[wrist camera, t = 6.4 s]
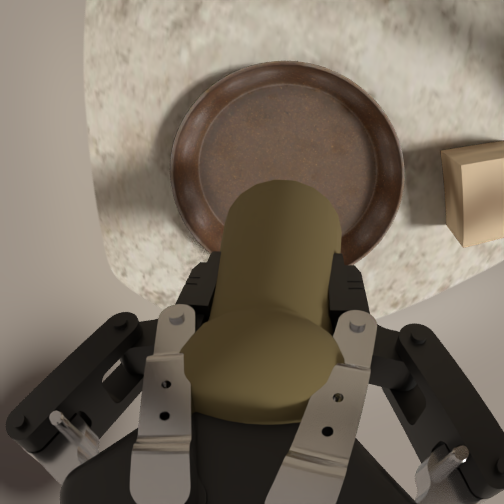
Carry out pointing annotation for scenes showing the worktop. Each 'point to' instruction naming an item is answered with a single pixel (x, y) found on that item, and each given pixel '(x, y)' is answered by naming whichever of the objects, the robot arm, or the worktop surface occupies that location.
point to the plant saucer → (288, 150)
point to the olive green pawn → (268, 308)
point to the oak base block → (474, 192)
